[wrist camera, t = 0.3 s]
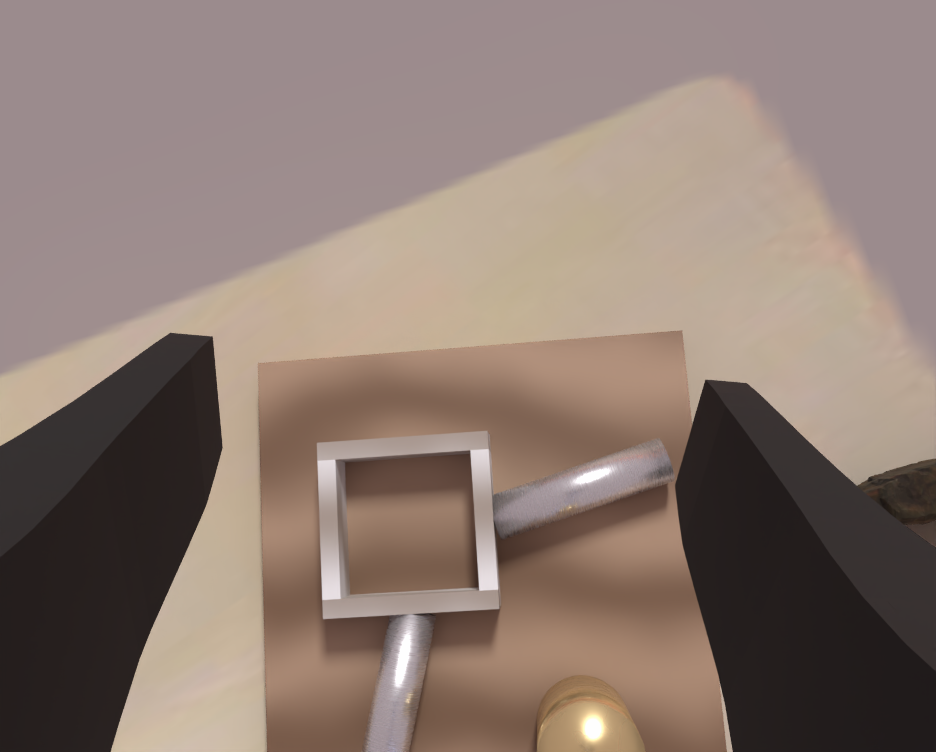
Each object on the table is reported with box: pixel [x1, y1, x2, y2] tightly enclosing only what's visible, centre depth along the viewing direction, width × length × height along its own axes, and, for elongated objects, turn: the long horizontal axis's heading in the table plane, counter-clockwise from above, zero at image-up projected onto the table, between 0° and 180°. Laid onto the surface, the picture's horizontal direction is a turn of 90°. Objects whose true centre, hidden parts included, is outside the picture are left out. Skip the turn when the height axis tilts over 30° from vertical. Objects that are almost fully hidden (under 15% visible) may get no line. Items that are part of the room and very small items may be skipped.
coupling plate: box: [258, 331, 727, 752], centre depth 39 cm, size 22×20×4 cm
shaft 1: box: [362, 613, 436, 752], centre depth 38 cm, size 9×2×2 cm, turn 169°
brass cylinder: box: [537, 675, 646, 752], centre depth 35 cm, size 4×4×6 cm
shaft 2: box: [492, 438, 675, 540], centre depth 39 cm, size 8×2×2 cm, turn 109°
